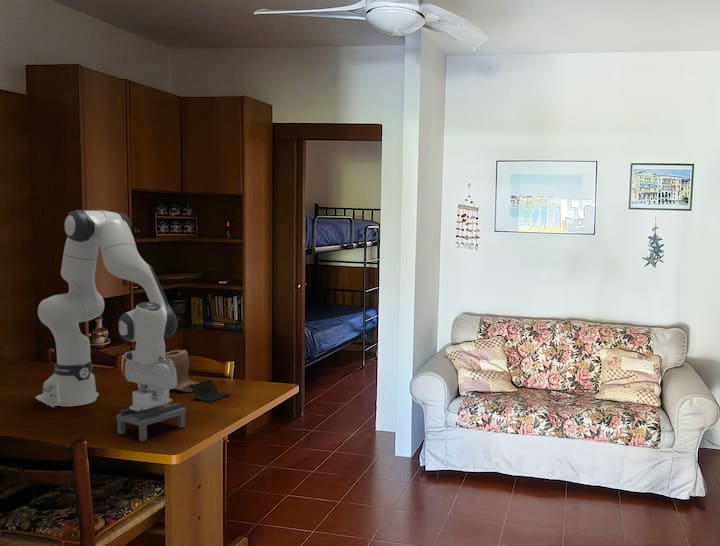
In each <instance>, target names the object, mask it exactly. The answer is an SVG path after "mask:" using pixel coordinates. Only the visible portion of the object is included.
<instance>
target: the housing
mask: <svg viewBox="0 0 720 546" xmlns="http://www.w3.org/2000/svg"><path fill="white" fill-rule="evenodd" d="M157 392H158V391H157V389H156V387H149V388H148V387H145V389H141V390H139V389H138V390H133V391H132V405H130V406H129V408H130V409H131V410H135V411H141V410H147V409H150V408H153V407H157V406H160V405H164V404H170V403H173V399H172V398H170V390H166V389H165V391H164V393H163V395H162V401H155V395H157Z"/></svg>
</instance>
